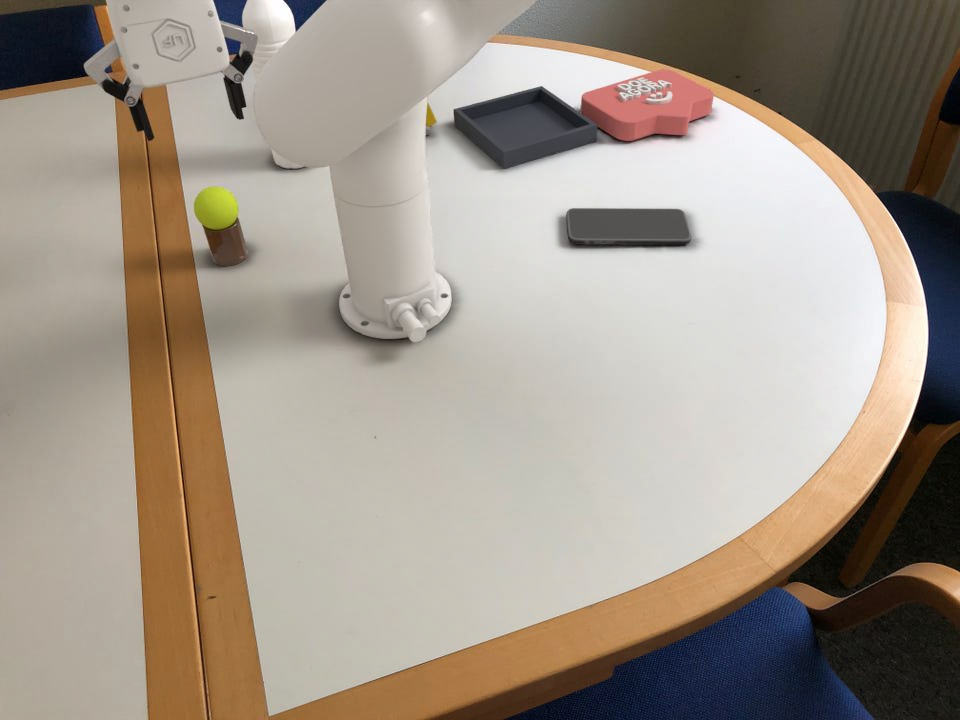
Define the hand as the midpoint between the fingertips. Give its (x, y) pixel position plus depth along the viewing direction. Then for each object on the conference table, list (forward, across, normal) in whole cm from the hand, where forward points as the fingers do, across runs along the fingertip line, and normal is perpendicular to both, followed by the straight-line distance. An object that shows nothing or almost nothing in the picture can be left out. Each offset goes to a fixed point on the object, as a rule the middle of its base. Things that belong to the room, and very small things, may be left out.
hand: (194, 124), depth 87 cm
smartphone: (+16, +45, -20) cm, 52 cm away
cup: (+17, 0, -1) cm, 17 cm away
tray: (+17, +47, +9) cm, 50 cm away
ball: (+10, 0, -1) cm, 10 cm away
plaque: (+17, +66, +3) cm, 68 cm away
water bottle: (+17, +14, +19) cm, 29 cm away
